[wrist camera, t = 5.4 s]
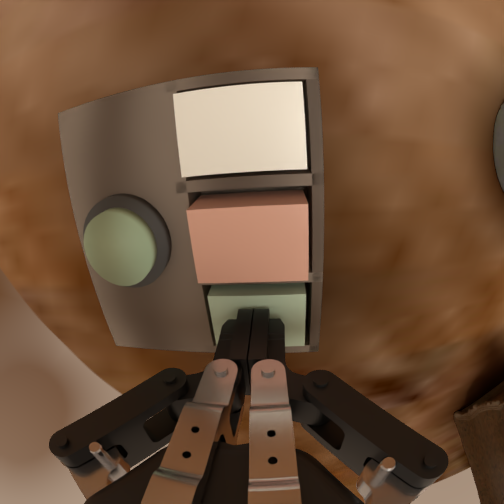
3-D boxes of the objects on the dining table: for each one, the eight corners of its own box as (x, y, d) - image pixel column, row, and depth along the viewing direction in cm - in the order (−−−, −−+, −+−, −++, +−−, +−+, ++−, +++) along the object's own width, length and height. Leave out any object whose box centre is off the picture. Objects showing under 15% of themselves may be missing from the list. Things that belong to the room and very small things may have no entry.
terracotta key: (302, 189, 13) (308, 203, 11) (304, 255, 14) (308, 280, 12) (201, 195, 14) (186, 210, 11) (209, 258, 15) (198, 283, 13)
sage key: (302, 269, 16) (306, 293, 14) (302, 318, 17) (304, 345, 15) (216, 272, 16) (207, 296, 14) (223, 319, 18) (216, 346, 15)
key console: (310, 78, 13) (322, 61, 9) (313, 318, 18) (320, 368, 14) (89, 111, 14) (41, 114, 10) (133, 318, 19) (108, 359, 16)
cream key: (297, 88, 11) (302, 81, 9) (301, 161, 13) (307, 169, 10) (190, 98, 12) (172, 94, 10) (197, 167, 13) (181, 177, 11)
